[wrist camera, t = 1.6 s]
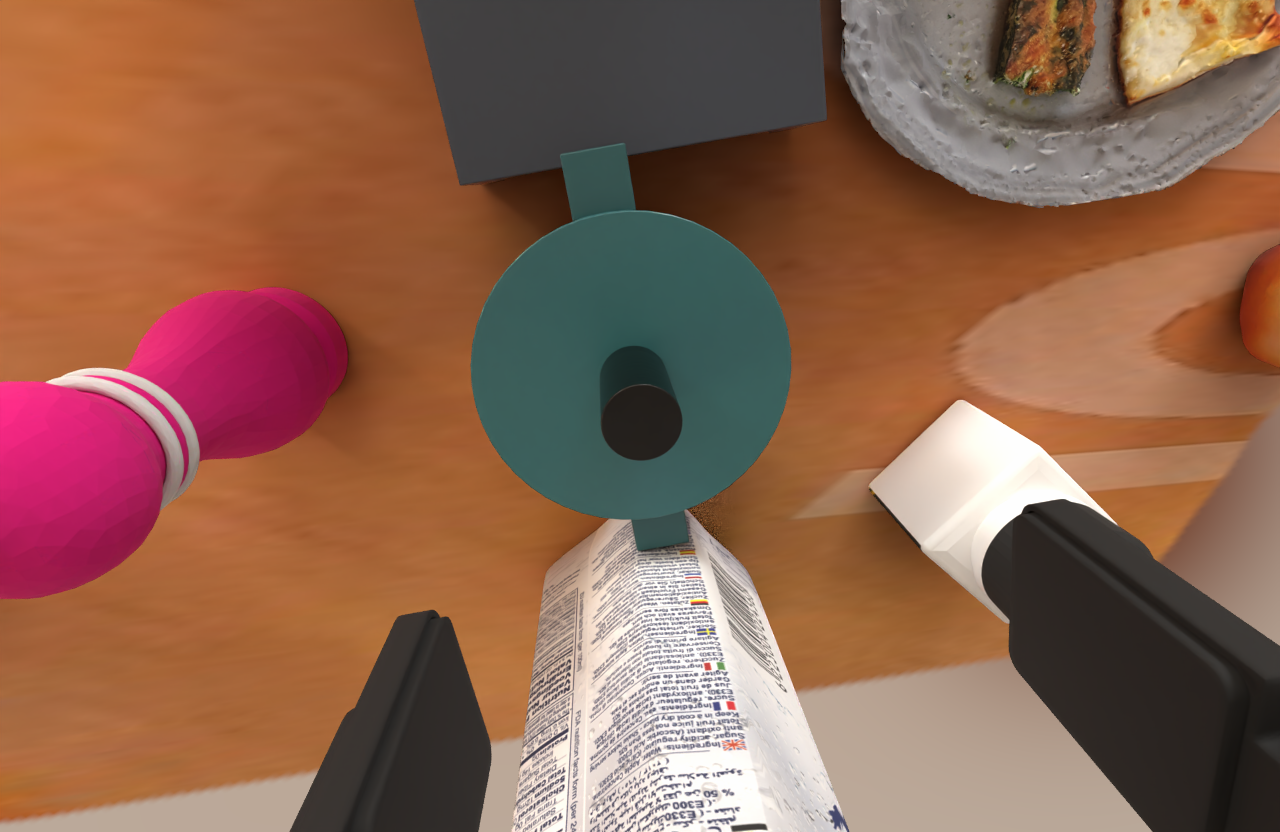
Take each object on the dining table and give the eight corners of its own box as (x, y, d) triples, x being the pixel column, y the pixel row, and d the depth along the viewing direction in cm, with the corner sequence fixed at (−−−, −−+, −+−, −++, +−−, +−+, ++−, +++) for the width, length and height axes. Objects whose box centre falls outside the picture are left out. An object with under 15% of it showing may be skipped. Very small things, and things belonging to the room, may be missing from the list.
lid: (515, 530, 29) (495, 619, 23) (438, 240, 24) (389, 260, 19) (796, 480, 29) (846, 556, 23) (768, 182, 24) (821, 183, 19)
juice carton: (522, 569, 38) (377, 1332, 13) (656, 454, 36) (793, 1089, 11) (625, 657, 41) (671, 1435, 16) (755, 554, 39) (1051, 1255, 14)
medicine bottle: (863, 485, 38) (976, 615, 27) (958, 395, 36) (1121, 493, 25) (941, 553, 40) (1077, 701, 29) (1034, 470, 38) (1217, 592, 27)
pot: (549, 491, 37) (536, 578, 29) (474, 176, 31) (431, 176, 23) (750, 455, 37) (793, 533, 29) (712, 133, 31) (752, 118, 23)
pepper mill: (389, 368, 34) (130, 608, 15) (280, 441, 35) (-89, 751, 16) (290, 247, 32) (-161, 350, 13) (177, 328, 32) (-397, 536, 14)
